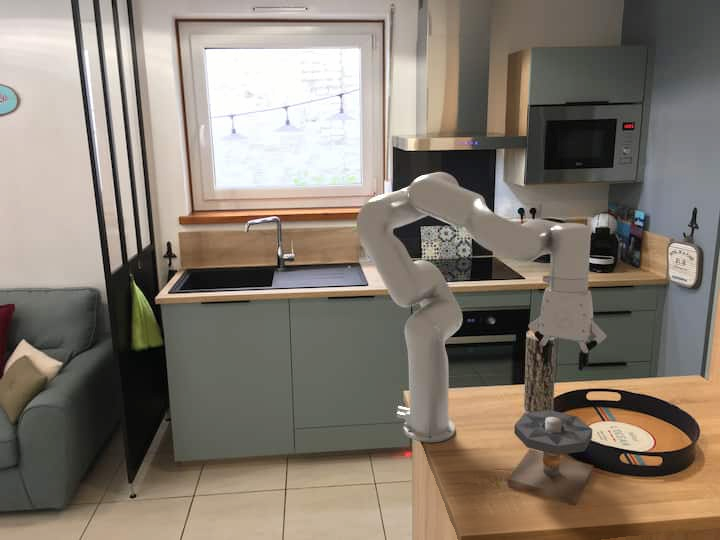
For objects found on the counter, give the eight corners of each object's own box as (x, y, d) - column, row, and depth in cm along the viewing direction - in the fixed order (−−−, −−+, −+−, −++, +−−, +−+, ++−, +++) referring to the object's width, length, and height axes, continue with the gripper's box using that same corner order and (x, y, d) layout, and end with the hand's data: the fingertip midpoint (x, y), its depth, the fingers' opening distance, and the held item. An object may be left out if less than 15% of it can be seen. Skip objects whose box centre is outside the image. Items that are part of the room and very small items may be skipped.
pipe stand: (507, 485, 134) (508, 426, 131) (529, 454, 145) (531, 400, 142) (575, 505, 127) (578, 443, 123) (593, 471, 138) (596, 414, 135)
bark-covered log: (547, 423, 160) (550, 328, 154) (556, 436, 153) (560, 338, 147) (520, 424, 159) (522, 329, 153) (528, 438, 153) (531, 339, 147)
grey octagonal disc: (507, 442, 132) (507, 433, 131) (530, 414, 143) (530, 405, 143) (578, 460, 124) (579, 451, 123) (596, 429, 136) (597, 420, 135)
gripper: (521, 283, 133) (518, 363, 137) (608, 293, 124) (602, 379, 128) (533, 274, 139) (530, 352, 143) (617, 284, 130) (611, 366, 134)
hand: (564, 364), depth 136 cm, fingers open, 6 cm apart
